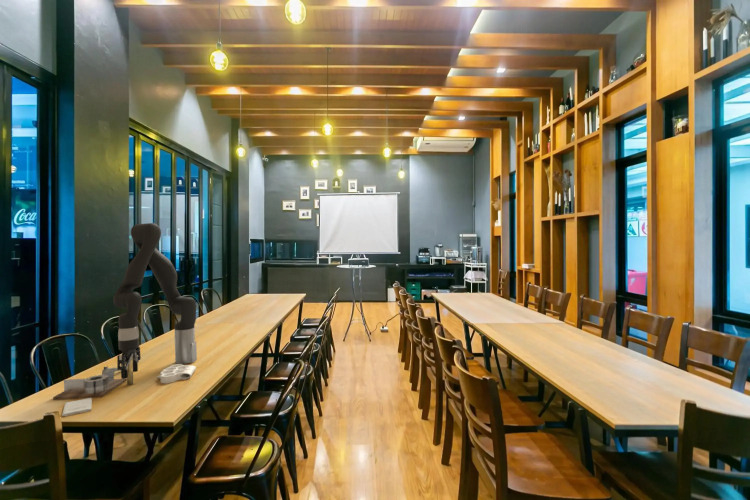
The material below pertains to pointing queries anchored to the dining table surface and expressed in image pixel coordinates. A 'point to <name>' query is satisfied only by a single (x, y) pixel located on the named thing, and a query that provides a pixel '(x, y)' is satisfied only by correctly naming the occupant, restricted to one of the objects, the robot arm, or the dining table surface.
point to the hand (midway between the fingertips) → (129, 374)
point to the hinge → (90, 383)
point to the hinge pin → (130, 373)
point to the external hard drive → (77, 407)
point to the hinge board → (81, 394)
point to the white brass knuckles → (176, 373)
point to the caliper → (109, 369)
